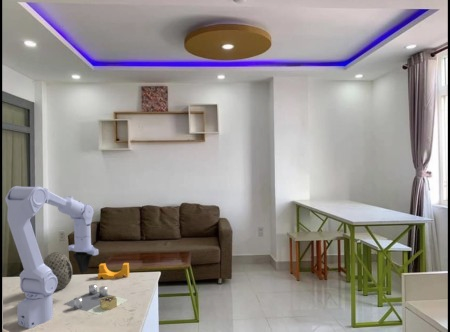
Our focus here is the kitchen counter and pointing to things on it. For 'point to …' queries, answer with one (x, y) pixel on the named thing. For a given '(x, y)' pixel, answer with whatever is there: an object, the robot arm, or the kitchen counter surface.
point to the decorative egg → (59, 268)
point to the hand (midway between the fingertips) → (83, 271)
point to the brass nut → (108, 302)
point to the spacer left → (77, 303)
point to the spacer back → (93, 289)
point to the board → (94, 303)
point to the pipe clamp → (110, 275)
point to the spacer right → (103, 291)
